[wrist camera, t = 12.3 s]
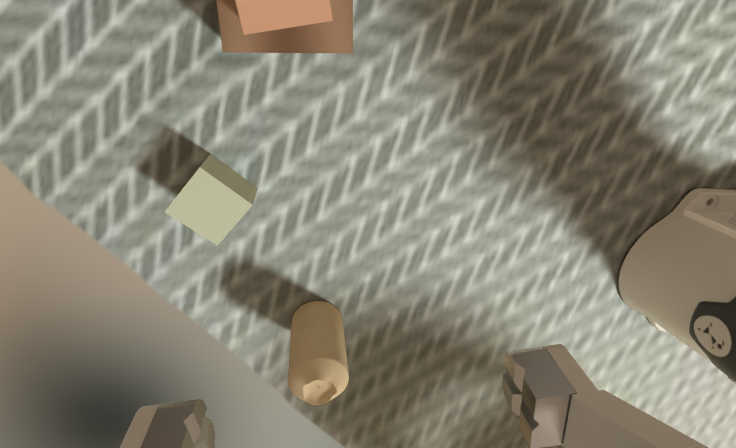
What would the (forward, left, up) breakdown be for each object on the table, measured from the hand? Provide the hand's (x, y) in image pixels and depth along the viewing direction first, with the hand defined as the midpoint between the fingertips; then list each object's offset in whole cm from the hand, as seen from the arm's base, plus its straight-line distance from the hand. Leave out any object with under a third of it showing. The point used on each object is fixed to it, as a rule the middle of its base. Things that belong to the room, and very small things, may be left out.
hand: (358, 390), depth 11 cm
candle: (+4, +20, -29) cm, 35 cm away
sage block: (+10, +4, -29) cm, 31 cm away
